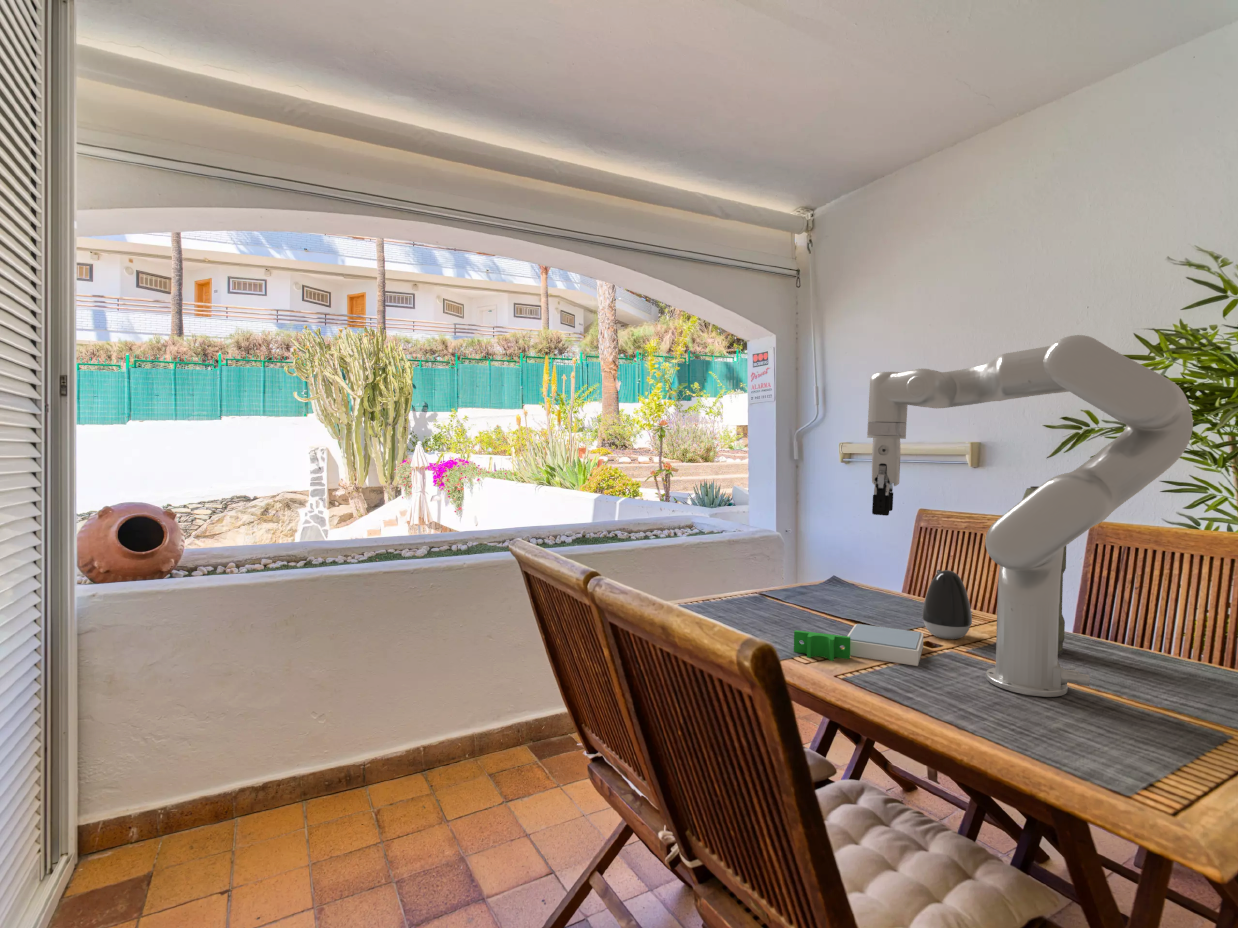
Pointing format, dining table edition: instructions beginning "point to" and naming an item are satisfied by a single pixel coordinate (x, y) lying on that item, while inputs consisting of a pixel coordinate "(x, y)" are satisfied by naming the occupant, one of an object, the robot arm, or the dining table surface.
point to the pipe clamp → (822, 645)
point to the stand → (886, 644)
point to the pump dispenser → (947, 606)
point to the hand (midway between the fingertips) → (882, 512)
